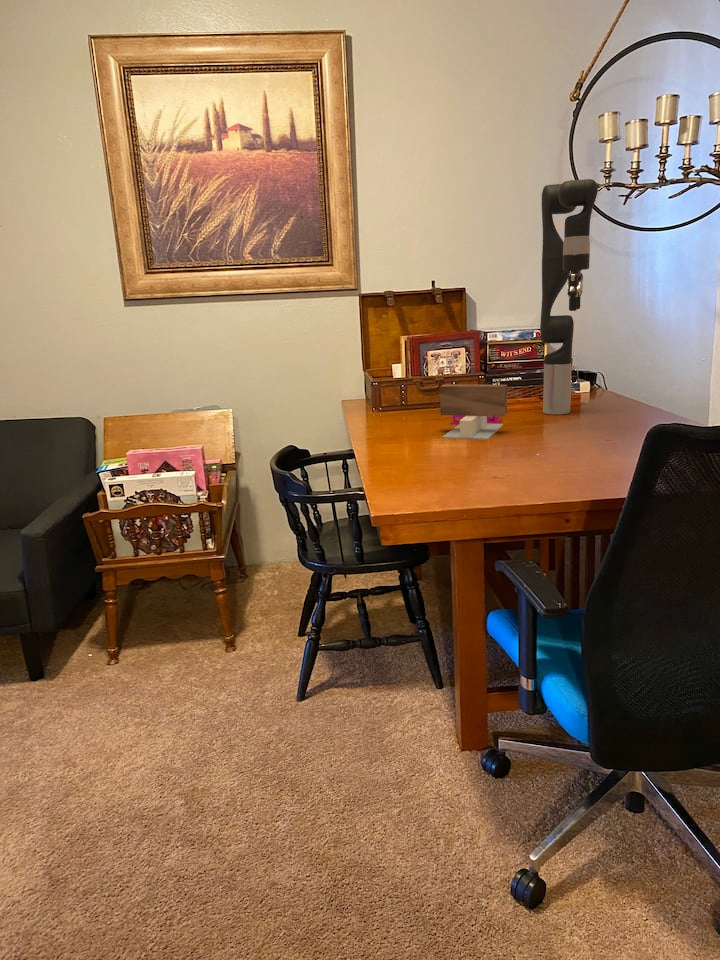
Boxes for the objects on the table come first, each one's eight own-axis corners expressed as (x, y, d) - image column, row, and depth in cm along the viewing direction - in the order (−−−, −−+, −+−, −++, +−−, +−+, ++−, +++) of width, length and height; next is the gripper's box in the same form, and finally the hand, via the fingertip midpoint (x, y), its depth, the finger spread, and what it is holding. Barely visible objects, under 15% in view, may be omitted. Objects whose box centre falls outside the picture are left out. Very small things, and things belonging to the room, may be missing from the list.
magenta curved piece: (496, 421, 234) (496, 399, 232) (498, 425, 228) (498, 402, 226) (451, 423, 235) (451, 401, 233) (452, 426, 229) (452, 404, 227)
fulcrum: (461, 425, 229) (461, 407, 227) (503, 426, 223) (503, 408, 222) (442, 440, 210) (441, 420, 208) (487, 441, 204) (487, 421, 202)
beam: (444, 412, 221) (444, 384, 218) (507, 413, 213) (507, 384, 211) (440, 415, 217) (439, 386, 214) (504, 416, 209) (504, 386, 207)
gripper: (566, 254, 210) (564, 309, 214) (559, 253, 197) (558, 311, 202) (592, 252, 207) (590, 308, 211) (587, 251, 194) (585, 310, 199)
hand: (574, 310), depth 206 cm, fingers open, 8 cm apart
